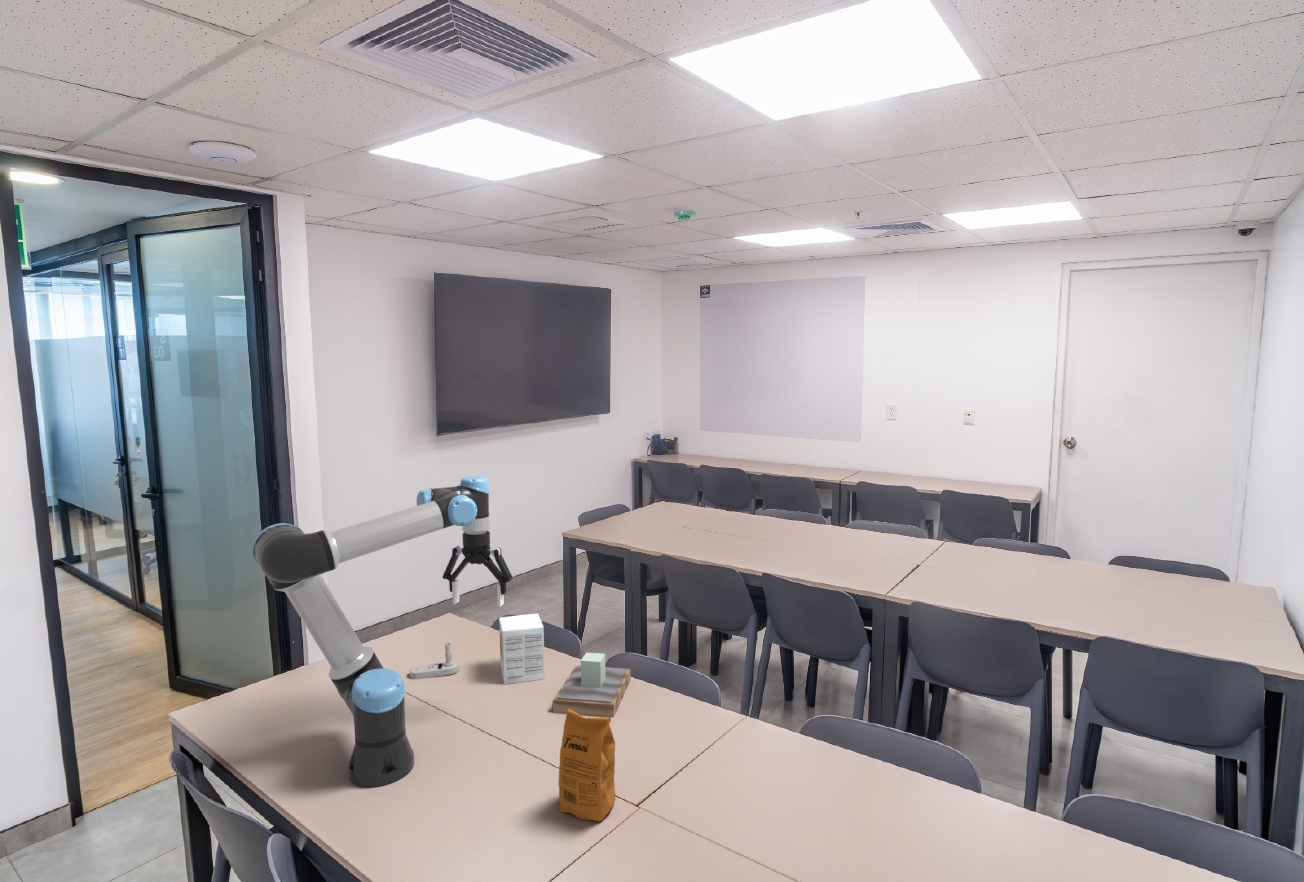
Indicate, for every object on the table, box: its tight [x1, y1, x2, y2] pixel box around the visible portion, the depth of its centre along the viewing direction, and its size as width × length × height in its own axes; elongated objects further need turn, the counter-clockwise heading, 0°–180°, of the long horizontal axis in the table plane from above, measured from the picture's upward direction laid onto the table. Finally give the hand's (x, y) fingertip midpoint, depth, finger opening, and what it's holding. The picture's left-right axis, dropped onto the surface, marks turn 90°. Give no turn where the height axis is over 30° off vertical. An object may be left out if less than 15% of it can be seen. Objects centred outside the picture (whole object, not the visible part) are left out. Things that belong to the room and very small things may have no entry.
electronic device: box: [409, 642, 459, 680], centre depth 220 cm, size 5×10×15 cm
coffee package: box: [558, 709, 616, 822], centre depth 151 cm, size 10×12×22 cm
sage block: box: [580, 652, 606, 688], centre depth 204 cm, size 6×6×8 cm
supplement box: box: [498, 613, 545, 685], centre depth 220 cm, size 13×13×18 cm
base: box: [552, 664, 632, 718], centre depth 205 cm, size 24×18×4 cm
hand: (478, 604), depth 194 cm, fingers open, 13 cm apart
